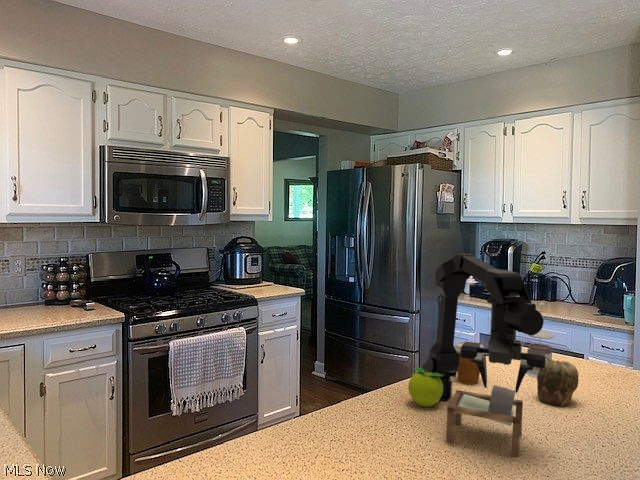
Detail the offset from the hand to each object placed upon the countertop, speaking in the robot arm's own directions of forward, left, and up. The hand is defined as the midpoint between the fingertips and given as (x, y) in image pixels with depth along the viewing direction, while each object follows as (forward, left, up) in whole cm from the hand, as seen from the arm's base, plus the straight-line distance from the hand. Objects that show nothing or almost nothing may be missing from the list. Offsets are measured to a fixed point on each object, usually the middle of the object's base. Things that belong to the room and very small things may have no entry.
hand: (500, 389), depth 120 cm
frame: (-3, 0, -12) cm, 13 cm away
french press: (+7, +60, -13) cm, 62 cm away
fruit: (-21, +14, -13) cm, 29 cm away
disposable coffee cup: (-13, +41, -13) cm, 45 cm away
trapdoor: (-3, 0, -6) cm, 7 cm away
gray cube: (0, 0, -5) cm, 5 cm away
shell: (+13, +35, -13) cm, 40 cm away
